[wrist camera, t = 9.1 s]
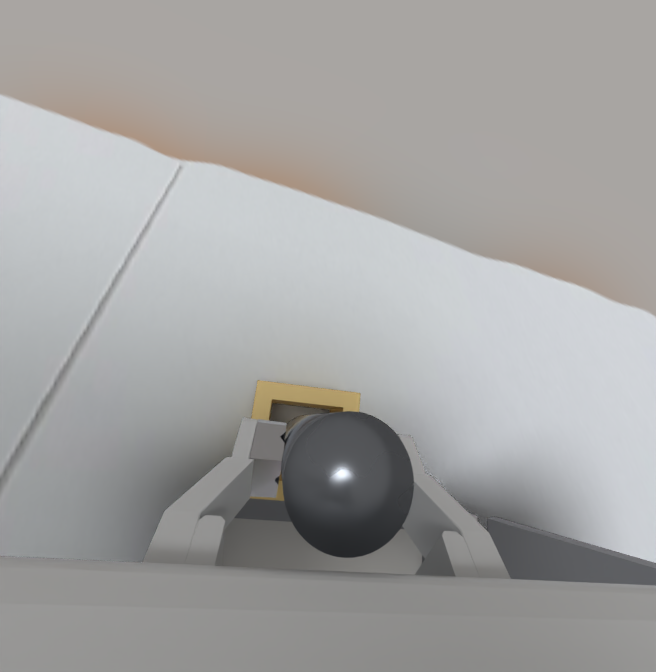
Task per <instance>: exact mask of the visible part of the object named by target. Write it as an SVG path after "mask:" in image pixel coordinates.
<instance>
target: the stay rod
mask: <svg viewBox="0 0 656 672" xmlns="http://www.w3.org/2000/svg"><path fill="white" fill-rule="evenodd" d="M284 443H285V444H284V451H283V456H282V463H281V475H282V485H283V495H284V501H285V506H286V509H287V512H288V515H289V517H290V519H291V522H292V524H293V525H294V527H295V528H296V530H297V531H298V533H299V534H300V535H301V536H302V537H303V539H304V540H306V541H307V542H308V543H309V544H310V545H311V546H313V547H314V548H316V549H317V550H319V551H321V552H323V553H325V554H328V555H331V556H335V557H341V558H355V557H360V556H364V555H367V554H370V553H372V552H374V551H376V550H378V549H380V548H381V547H383V546H384V545H386V544H387V543H388V542H389V541H390V540H391V539H392V538H393V537H394V536H395V535H396V534H397V532H398V531H399V530H400V528H401V527H402V525H403V523H404V522H405V520H406V518H407V515H408V513H409V510H410V507H411V504H412V499H413V491H414V476H413V469H412V464H411V461H410V457H409V455H408V452H407V450H406V448H405V446H404V444H403V442H402V441H401V440H400V438H399V437H398V435H397V434H396V433H395V432H394V431H393V430H392V429H391V428H390V427H389V426H388V425H387V424H385V423H384V422H382V421H381V420H379V419H377V418H375V417H373V416H371V415H368V414H365V413H361V412H354V411H345V412H334V413H323V414H312V415H303V416H299V417H296V418H294V419H293V420H291V421H290V422H289V423H288V424H287V425H286V433H285V439H284Z"/></svg>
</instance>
